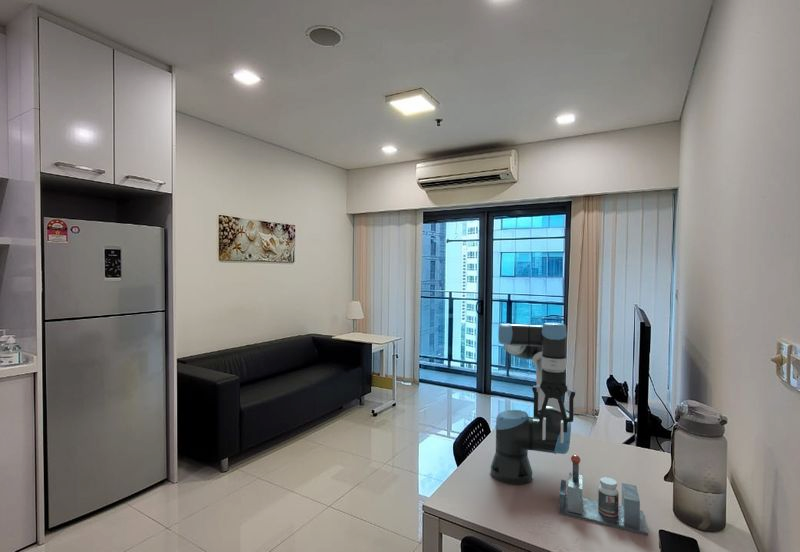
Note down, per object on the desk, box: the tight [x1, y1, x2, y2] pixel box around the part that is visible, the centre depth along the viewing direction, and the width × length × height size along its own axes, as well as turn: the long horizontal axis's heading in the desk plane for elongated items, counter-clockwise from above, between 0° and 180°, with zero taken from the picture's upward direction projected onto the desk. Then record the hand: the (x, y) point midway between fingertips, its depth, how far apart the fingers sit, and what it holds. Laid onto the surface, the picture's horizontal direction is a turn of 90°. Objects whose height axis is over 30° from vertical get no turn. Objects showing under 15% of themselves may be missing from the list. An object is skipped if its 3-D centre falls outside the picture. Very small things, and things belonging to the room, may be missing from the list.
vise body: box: [558, 479, 649, 536], centre depth 127 cm, size 24×12×9 cm, turn 65°
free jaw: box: [567, 454, 583, 514], centre depth 130 cm, size 4×10×16 cm, turn 155°
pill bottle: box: [597, 476, 619, 517], centre depth 126 cm, size 6×6×10 cm
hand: (553, 439), depth 133 cm, fingers open, 5 cm apart
